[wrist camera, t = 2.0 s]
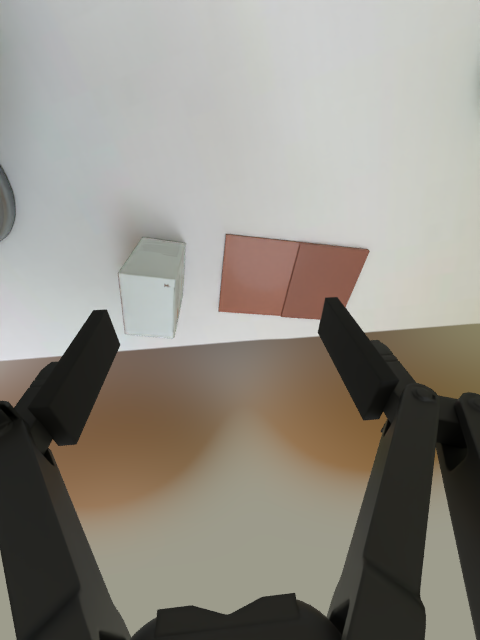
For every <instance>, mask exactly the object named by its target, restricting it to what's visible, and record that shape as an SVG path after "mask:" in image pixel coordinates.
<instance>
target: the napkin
mask: <svg viewBox="0 0 480 640" xmlns="http://www.w3.org/2000/svg"><path fill="white" fill-rule="evenodd" d="M368 254H369V250H368V249H359V248H350V247H341V246H331V245H322V244H313V243H304V242H295V241H285V240H276V239H267V238H258V237H248V236H239V235H230V234H226V240H225V250H224V260H223V271H222V281H221V291H220V301H219V312H233V313H247V314H262V315H277V316H281V317H291V318H305V319H320V320H321V315H322V311H323V306H324V301H325V298H328V297H338V299H339V300H340V301H341V303H342V304H343V305H344V307H346V305H347V302H348V300H349V298H350V295H351V293H352V291H353V289H354V286H355V284H356V282H357V279H358V277H359V275H360V272H361V270H362V268H363V265H364V263H365V261H366V258H367V256H368Z"/></svg>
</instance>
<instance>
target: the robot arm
mask: <svg viewBox="0 0 480 640" xmlns="http://www.w3.org/2000/svg"><path fill="white" fill-rule="evenodd" d="M14 218H15V203H14V198H13V194H12V190H11V187H10V185H9V182H8V180H7V178H6V176H5V174H4V172H3V170H2V168H1V167H0V241H1V240H3V239H4V238H5V237H6V236H7V235H8V233H9V232H10V230H11V228H12V226H13V223H14ZM318 334H319V336H320V338H321V339H322V341H323V343H324V345H325V347H326V349H327V351H328V353H329V355H330V357H331V359H332V360H333V363H334V365H335V366H336V368H337V370H338V372H339V374H340V376H341V378H342V380H343V382H344V384H345V386H346V388H347V390H348V392H349V393H350V395H351V397H352V399H353V401H354V403H355V405H356V407H357V409H358V411H359V413H360V415H361V417H362V419H363V420H374V419H379V418H380V416H381V414H382V412H384V413H385V415H386V417H387V418H388V419H387V421H386V423H385V424H384V426H383V428H382V430H381V432H382V437H381V440H380V443H379V447H378V451H377V454H376V457H375V461H374V464H373V468H372V471H371V475H370V478H369V482H368V485H367V488H366V492H365V495H364V499H363V502H362V506H361V509H360V513H359V516H358V520H357V523H356V527H355V530H354V534H353V537H352V540H351V544H350V547H349V551H348V554H347V558H346V561H345V565H344V568H343V572H342V575H341V577H340V580H339V582H338V585H337V587H336V589H335V592H334V595H333V598H332V601H331V604H330V608H329V611H328V614H327V617H326V616H324V615H323V614H322V613H321V612H320V611H318V610H317V609H315V608H314V607H312V606H311V605H309V604H306V603H304V602H303V601H300V600H296V596H295V593H290V594H282V595H274V596H266V597H261V598H259V599H257V600H256V601H254V602H252V603H250V604H248V605H246V606H244V607H243V608H241V609H239V610H237V611H235V612H233V613H231V614H228V615H225V614H221V613H217V612H214V611H210V610H207V609H203V608H199V607H196V606H184V607H175V608H167V609H160V610H158V611H157V617H156V618H155V619H153V620H151V621H150V622H148V623H147V624H146V625H144V626H143V627H142V628H141V629H140V630H138V631H137V632H136V633H135V634H134V635H133V636H132V637H131V636H130V634H129V631H128V629H127V627H126V625H125V623H124V620H123V619H122V617H121V615H120V613H119V612H118V610H117V609H116V607H115V606H114V604H113V602H112V600H111V598H110V595H109V593H108V590H107V588H106V585H105V583H104V581H103V578H102V575H101V573H100V570H99V568H98V565H97V563H96V561H95V558H94V555H93V553H92V551H91V548H90V546H89V543H88V541H87V538H86V536H85V533H84V531H83V528H82V526H81V523H80V521H79V519H78V516H77V513H76V511H75V508H74V506H73V504H72V501H71V499H70V496H69V494H68V491H67V489H66V486H65V484H64V481H63V479H62V476H61V474H60V471H59V469H58V467H57V464H56V462H55V459H54V457H53V454H52V452H51V450H50V449H49V448H48V447H49V445H50V443H51V441H52V439H53V440H54V441H55V442H56V443H57V445H58V446H63V445H74V444H77V442H78V440H79V437H80V435H81V433H82V431H83V428H84V426H85V424H86V421H87V419H88V417H89V415H90V412H91V410H92V408H93V405H94V403H95V401H96V399H97V397H98V394H99V392H100V390H101V387H102V385H103V383H104V381H105V378H106V376H107V374H108V371H109V369H110V367H111V365H112V362H113V360H114V358H115V356H116V353H117V351H118V349H119V347H120V343H119V340H118V338H117V335H116V332H115V330H114V327H113V325H112V322H111V319H110V317H109V314H108V312H107V310H93V312H92V313H91V315H90V316H89V318H88V319H87V321H86V322H85V323H84V325H83V326H82V328H81V329H80V331H79V332H78V334H77V335H76V337H75V338H74V340H73V341H72V343H71V344H70V346H69V347H68V349H67V350H66V352H65V353H64V355H63V356H62V357H61V359H60V360H59V362H51V363H50V364H48V365H47V366H46V367H45V368H43V369H42V370H41V371H40V373H39V374H38V376H37V377H36V378H35V381H33V382H32V384H31V385H30V388H28V389H27V391H26V392H25V393H24V395H23V396H22V398H21V399H20V400H19V402H18V403H17V405H16V406H15V407H14V408H13V407H12V406H11V404H10V403H9V402H7V401H0V550H1V556H2V562H3V567H4V573H5V578H6V584H7V589H8V594H9V600H10V605H11V611H12V616H13V621H14V627H15V633H16V637H17V640H425V639H424V638H425V629H426V614H425V607H424V605H423V603H422V601H421V598H420V585H421V575H422V566H423V558H424V549H425V540H426V530H427V521H428V512H429V503H430V494H431V485H432V476H433V466H434V457H435V448H436V450H437V455H438V459H439V464H440V469H441V473H442V478H443V483H444V488H445V492H446V497H447V501H448V507H449V511H450V516H451V521H452V526H453V530H454V535H455V540H456V545H457V549H458V554H459V559H460V564H461V568H462V573H463V578H464V582H465V587H466V592H467V596H468V601H469V606H470V611H471V616H472V620H473V625H474V630H475V634H476V639H477V640H480V395H479V394H476V393H463V394H462V395H461V397H460V398H459V399H453V398H449V397H443V396H438V395H437V394H436V392H434V391H433V390H432V389H431V388H429V387H427V386H425V385H422V384H419V383H416V382H415V380H414V379H413V378H412V377H411V376H410V374H409V373H408V372H407V371H406V369H405V368H404V367H403V366H402V364H401V363H400V362H399V361H398V359H397V358H396V357H395V356H394V355H393V353H392V352H391V351H390V349H389V348H388V347H387V346H386V345H384V344H383V343H381V342H380V341H379V340H371V341H370V340H369V339H368V337H367V336H366V335H365V333H364V332H363V331H362V329H361V328H360V327H359V325H358V324H357V323H356V321H355V320H354V319H353V317H352V316H351V315H350V313H349V312H348V311H347V309H346V308H345V307H344V305H343V304H342V303H341V301H340V300H339V299H338V297H328V298H325V301H324V306H323V311H322V315H321V320H320V325H319V330H318Z"/></svg>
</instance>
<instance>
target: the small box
mask: <svg viewBox="0 0 480 640" xmlns="http://www.w3.org/2000/svg"><path fill="white" fill-rule="evenodd" d="M185 245H186V244H185V243H180V242H173V241H166V240H159V239H152V238H145V237H142V239H141V240H140V242H139V243H138V245H137V246H136V247H135V249H134V250H133V252H132V253H131V255H130V256H129V258H128V259H127V261H126V262H125V264H124V265H123V267H122V268H121V269H120V271H119V272H118V277H119V286H120V295H121V304H122V313H123V322H124V330H125V334H127V335H137V336H148V337H159V338H170V339H173V338H174V337H175V332H176V327H177V322H178V317H179V312H180V307H181V302H182V297H183V285H184V264H185Z"/></svg>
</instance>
